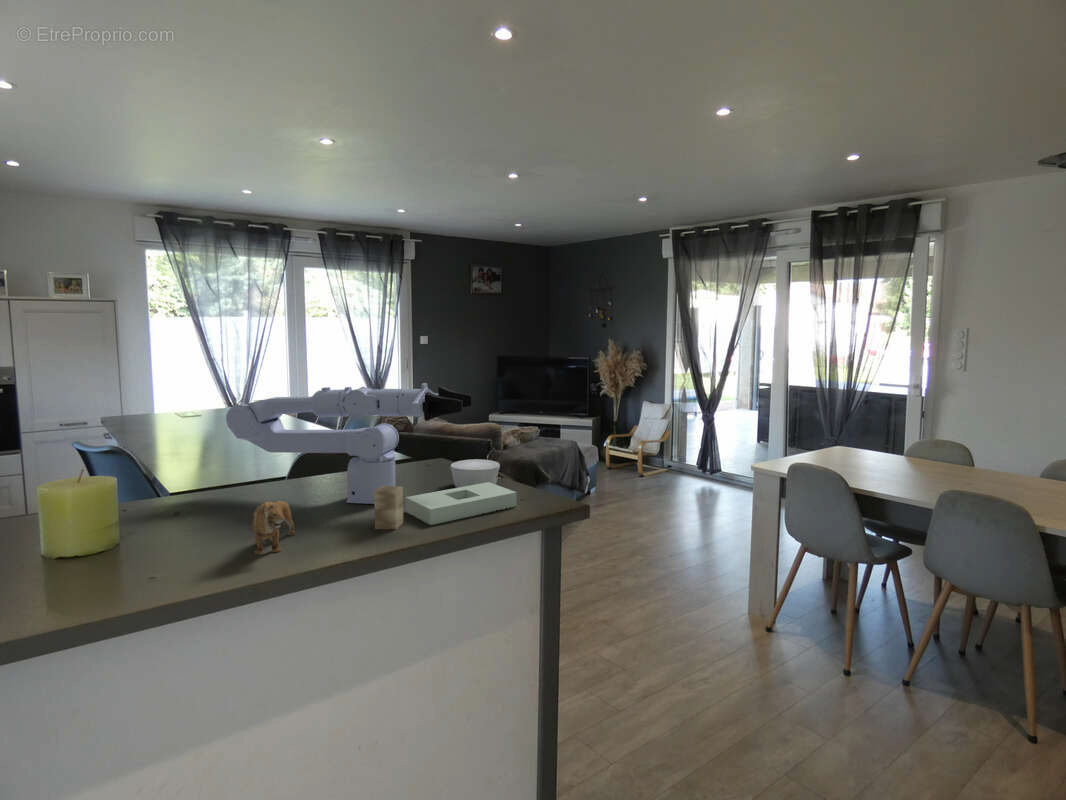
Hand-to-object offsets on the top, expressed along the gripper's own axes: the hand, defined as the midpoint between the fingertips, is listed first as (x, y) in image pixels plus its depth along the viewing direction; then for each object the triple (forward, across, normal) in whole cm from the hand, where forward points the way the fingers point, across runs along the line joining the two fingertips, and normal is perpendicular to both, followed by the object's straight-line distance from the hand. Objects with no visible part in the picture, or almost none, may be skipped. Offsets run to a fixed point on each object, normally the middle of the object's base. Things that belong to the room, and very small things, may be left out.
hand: (467, 403), depth 126 cm
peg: (-11, -16, +21) cm, 29 cm away
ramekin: (-2, +14, +22) cm, 26 cm away
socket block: (-1, -4, +21) cm, 21 cm away
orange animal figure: (-26, -30, +20) cm, 44 cm away
